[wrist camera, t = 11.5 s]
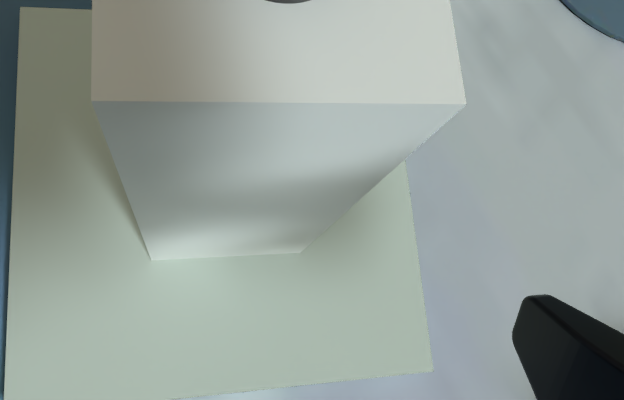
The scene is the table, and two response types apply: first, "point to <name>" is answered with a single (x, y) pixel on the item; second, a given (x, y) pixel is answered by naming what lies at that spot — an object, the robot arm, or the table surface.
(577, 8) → the cocktail glass
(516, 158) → the table surface
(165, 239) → the plug
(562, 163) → the table surface
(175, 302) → the rubber mat
